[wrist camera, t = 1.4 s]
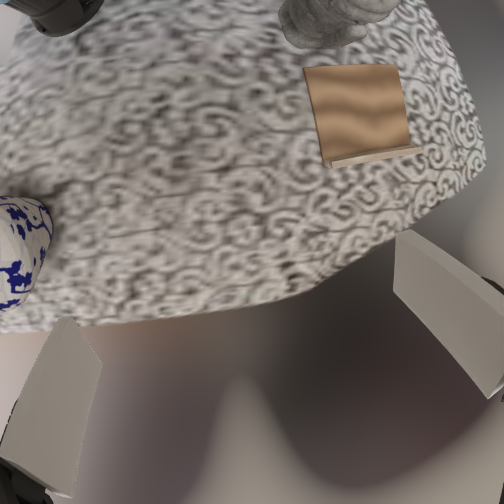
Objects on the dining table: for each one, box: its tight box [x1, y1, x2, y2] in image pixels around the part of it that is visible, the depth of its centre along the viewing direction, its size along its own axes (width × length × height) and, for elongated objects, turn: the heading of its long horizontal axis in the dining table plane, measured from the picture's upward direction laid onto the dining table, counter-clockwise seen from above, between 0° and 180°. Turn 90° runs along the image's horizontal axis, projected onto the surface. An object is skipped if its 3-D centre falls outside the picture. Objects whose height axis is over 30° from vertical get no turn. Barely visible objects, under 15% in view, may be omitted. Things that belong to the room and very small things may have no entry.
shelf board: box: [303, 64, 421, 169], centre depth 43 cm, size 18×20×4 cm
